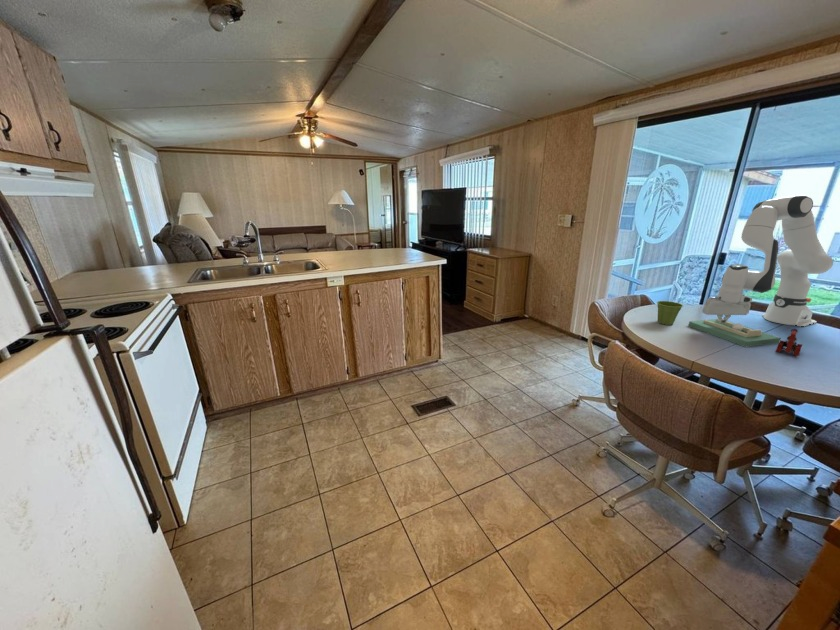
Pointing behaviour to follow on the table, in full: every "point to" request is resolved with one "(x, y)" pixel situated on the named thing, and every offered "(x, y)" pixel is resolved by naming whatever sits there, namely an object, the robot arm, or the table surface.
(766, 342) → the putting mat
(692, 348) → the table surface
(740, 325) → the ball
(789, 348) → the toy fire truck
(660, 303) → the plant pot
